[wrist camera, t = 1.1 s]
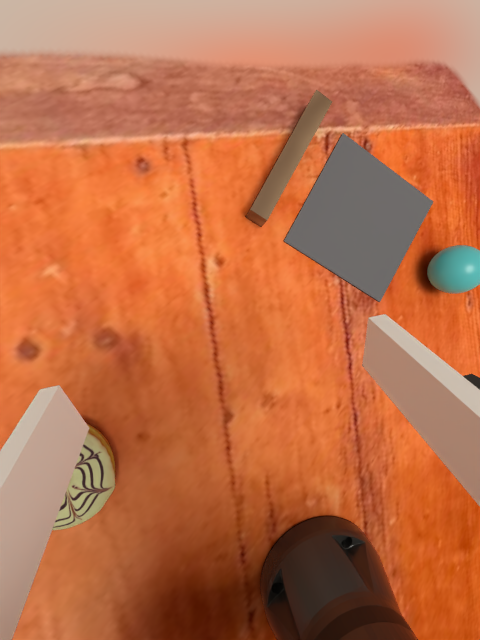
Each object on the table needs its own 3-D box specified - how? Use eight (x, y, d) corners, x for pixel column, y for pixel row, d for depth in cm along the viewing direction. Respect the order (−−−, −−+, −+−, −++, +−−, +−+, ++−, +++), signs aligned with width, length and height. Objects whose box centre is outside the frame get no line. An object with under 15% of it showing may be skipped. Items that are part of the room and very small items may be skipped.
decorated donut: (51, 530, 29) (30, 564, 25) (-14, 450, 27) (-46, 474, 23) (139, 473, 30) (131, 497, 26) (82, 393, 28) (65, 407, 24)
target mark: (431, 202, 33) (433, 201, 33) (378, 301, 33) (379, 301, 33) (342, 134, 31) (343, 133, 31) (283, 241, 30) (284, 240, 30)
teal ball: (459, 282, 35) (508, 279, 29) (425, 301, 34) (468, 301, 29) (445, 242, 34) (493, 231, 29) (410, 261, 33) (452, 253, 28)
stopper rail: (320, 118, 30) (332, 101, 28) (261, 226, 30) (267, 220, 28) (306, 106, 30) (316, 89, 27) (245, 217, 30) (250, 209, 27)
